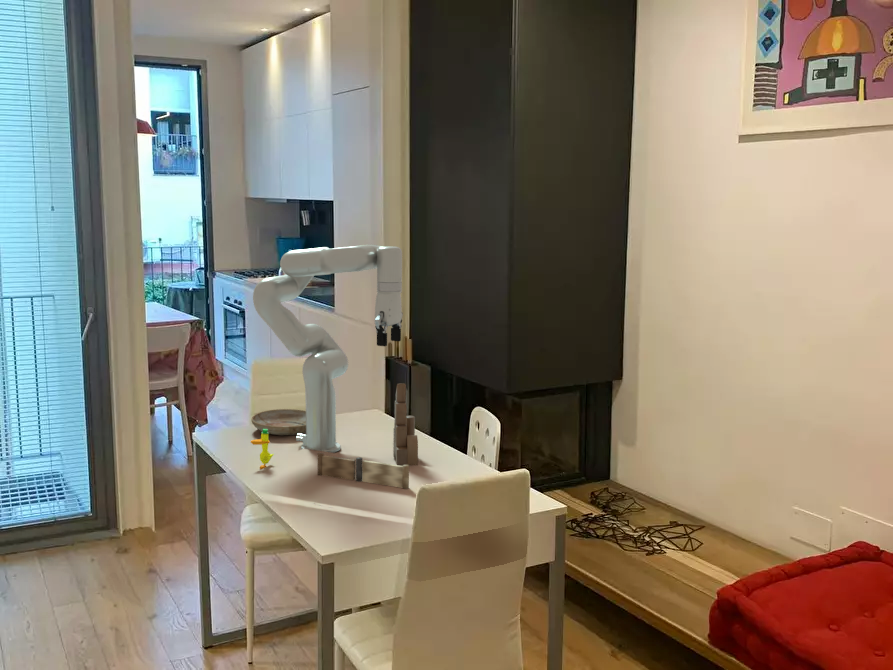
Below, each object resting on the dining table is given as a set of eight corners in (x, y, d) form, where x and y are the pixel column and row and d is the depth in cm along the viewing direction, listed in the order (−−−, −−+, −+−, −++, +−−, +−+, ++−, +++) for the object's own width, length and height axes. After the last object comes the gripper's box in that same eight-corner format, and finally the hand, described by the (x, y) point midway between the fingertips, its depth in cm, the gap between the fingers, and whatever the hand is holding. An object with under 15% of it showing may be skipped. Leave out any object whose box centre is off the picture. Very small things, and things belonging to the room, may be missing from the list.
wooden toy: (418, 469, 263) (420, 388, 259) (396, 470, 263) (397, 388, 258) (413, 454, 279) (414, 377, 274) (392, 454, 278) (393, 377, 274)
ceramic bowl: (259, 443, 287) (259, 428, 286) (245, 425, 309) (245, 411, 308) (327, 436, 296) (327, 422, 296) (309, 419, 318) (309, 406, 317)
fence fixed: (316, 475, 253) (316, 453, 252) (319, 473, 254) (319, 451, 253) (360, 482, 247) (360, 459, 246) (363, 480, 249) (363, 457, 248)
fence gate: (361, 482, 247) (361, 460, 246) (364, 480, 249) (364, 458, 248) (407, 489, 242) (407, 467, 241) (409, 487, 244) (410, 465, 243)
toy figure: (250, 470, 260) (250, 431, 258) (251, 466, 263) (250, 427, 261) (274, 469, 261) (273, 430, 259) (274, 465, 264) (273, 427, 262)
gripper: (390, 284, 273) (390, 338, 276) (365, 289, 257) (364, 346, 260) (412, 285, 270) (411, 340, 273) (388, 291, 254) (387, 349, 257)
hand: (388, 343), depth 267 cm, fingers open, 9 cm apart
